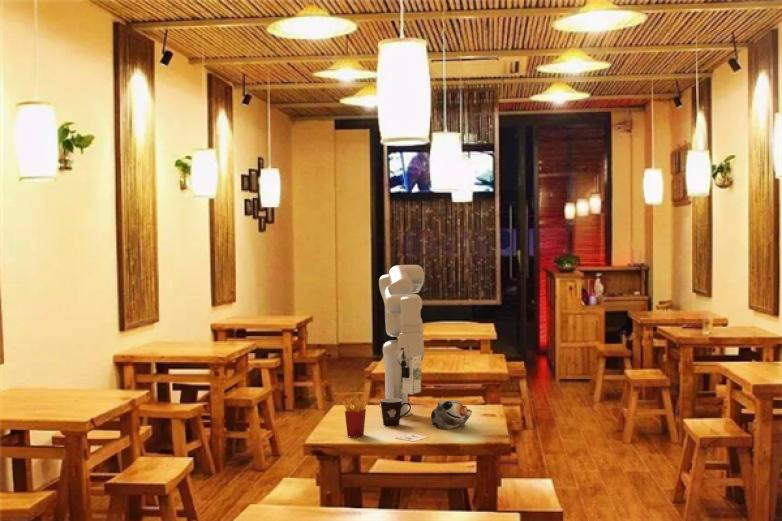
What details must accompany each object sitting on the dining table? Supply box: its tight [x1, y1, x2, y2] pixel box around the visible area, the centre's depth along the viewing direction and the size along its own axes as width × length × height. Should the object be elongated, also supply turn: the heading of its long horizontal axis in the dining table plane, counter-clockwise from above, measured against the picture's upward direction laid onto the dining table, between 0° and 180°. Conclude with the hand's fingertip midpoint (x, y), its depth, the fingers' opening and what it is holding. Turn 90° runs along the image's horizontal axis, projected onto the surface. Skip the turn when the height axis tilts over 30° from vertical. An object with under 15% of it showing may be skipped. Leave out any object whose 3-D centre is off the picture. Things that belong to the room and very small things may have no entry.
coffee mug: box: [380, 398, 412, 427], centre depth 360 cm, size 12×9×10 cm
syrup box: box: [401, 355, 422, 395], centre depth 338 cm, size 6×6×14 cm
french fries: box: [342, 395, 367, 438], centre depth 343 cm, size 9×8×15 cm
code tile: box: [395, 433, 428, 442], centre depth 339 cm, size 9×9×1 cm
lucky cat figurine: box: [430, 399, 473, 430], centre depth 355 cm, size 15×12×14 cm
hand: (411, 376), depth 338 cm, fingers closed on syrup box, 5 cm apart
